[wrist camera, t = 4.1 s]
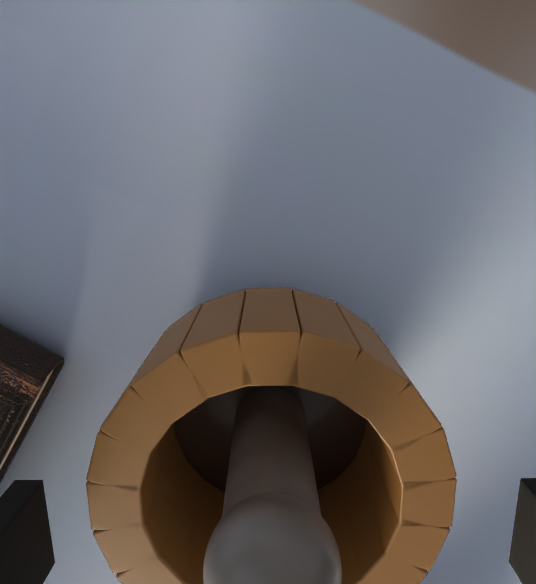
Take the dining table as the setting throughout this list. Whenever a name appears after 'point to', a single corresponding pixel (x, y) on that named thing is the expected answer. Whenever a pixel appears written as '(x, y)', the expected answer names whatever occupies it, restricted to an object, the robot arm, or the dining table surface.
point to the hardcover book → (22, 389)
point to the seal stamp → (271, 480)
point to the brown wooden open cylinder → (270, 372)
